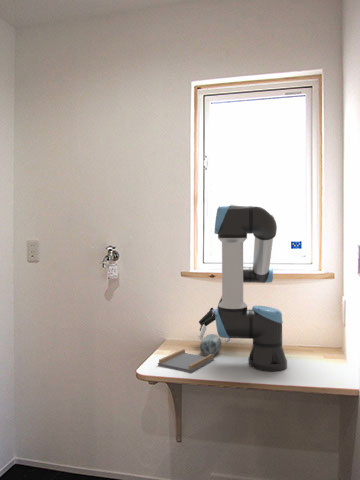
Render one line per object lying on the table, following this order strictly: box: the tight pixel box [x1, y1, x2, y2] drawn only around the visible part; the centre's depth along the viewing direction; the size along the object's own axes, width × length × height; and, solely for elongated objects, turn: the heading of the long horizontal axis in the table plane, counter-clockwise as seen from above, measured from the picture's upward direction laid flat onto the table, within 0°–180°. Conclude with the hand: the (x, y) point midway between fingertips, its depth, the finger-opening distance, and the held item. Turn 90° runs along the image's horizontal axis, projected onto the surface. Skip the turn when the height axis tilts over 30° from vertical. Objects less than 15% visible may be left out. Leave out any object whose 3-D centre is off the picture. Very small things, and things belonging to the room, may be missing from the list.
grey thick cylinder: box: [199, 333, 222, 357], centre depth 169 cm, size 14×10×10 cm
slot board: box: [157, 348, 215, 374], centre depth 156 cm, size 16×18×2 cm
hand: (213, 340), depth 172 cm, fingers open, 13 cm apart
